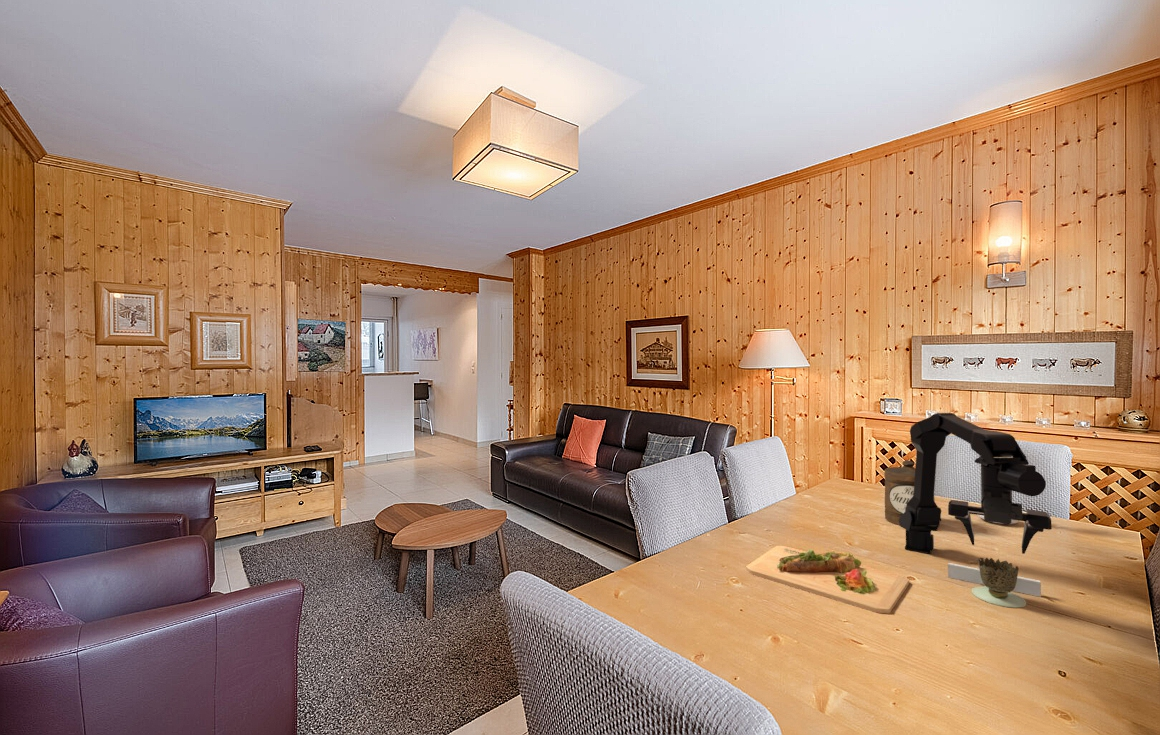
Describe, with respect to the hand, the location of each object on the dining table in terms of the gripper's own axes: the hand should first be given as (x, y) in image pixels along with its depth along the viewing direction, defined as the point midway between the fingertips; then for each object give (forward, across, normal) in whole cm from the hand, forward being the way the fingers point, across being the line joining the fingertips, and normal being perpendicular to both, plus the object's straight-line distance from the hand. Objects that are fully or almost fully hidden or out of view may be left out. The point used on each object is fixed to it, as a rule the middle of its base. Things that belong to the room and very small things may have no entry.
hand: (997, 548), depth 117 cm
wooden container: (+12, -23, +53) cm, 59 cm away
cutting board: (+13, -36, -12) cm, 40 cm away
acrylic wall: (+12, -1, +7) cm, 14 cm away
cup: (+12, 0, 0) cm, 12 cm away
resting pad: (+12, 0, 0) cm, 12 cm away
